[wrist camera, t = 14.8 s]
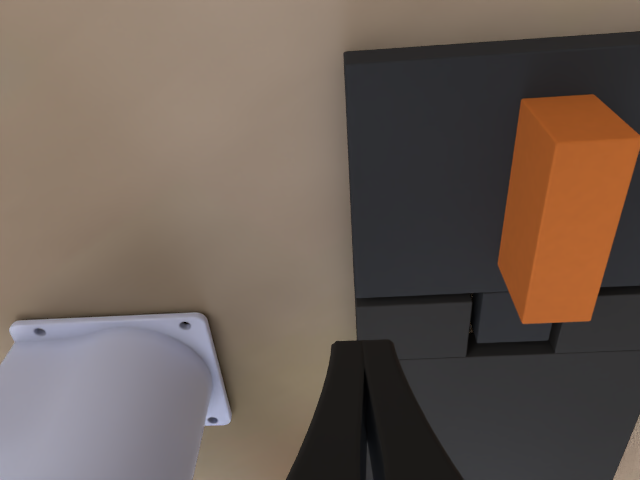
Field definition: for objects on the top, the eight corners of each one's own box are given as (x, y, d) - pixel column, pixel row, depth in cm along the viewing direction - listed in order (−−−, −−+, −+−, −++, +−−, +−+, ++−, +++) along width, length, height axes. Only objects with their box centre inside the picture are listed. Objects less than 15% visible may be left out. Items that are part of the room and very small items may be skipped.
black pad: (362, 464, 33) (364, 488, 32) (354, 284, 25) (355, 306, 24) (601, 457, 32) (612, 481, 31) (672, 269, 24) (690, 292, 23)
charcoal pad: (356, 325, 26) (361, 411, 22) (343, 51, 19) (347, 104, 15) (655, 312, 26) (718, 399, 21) (764, 22, 18) (892, 70, 14)
